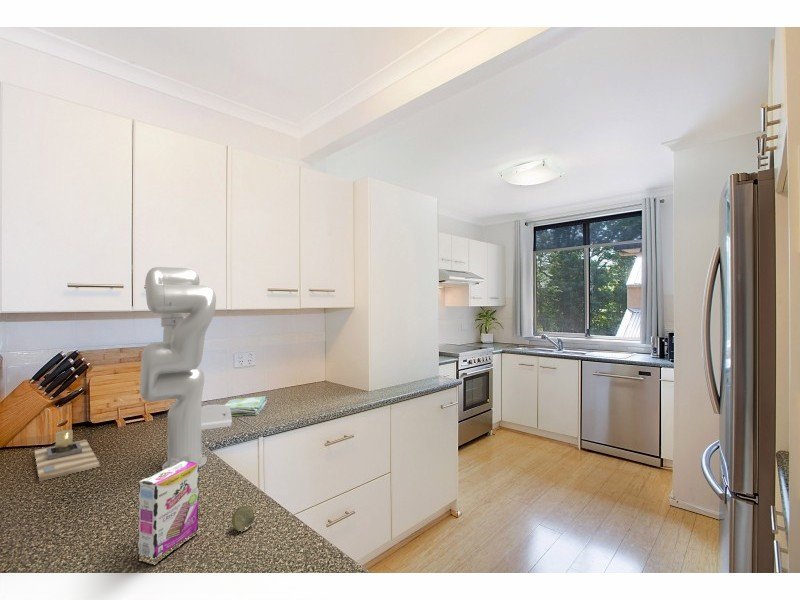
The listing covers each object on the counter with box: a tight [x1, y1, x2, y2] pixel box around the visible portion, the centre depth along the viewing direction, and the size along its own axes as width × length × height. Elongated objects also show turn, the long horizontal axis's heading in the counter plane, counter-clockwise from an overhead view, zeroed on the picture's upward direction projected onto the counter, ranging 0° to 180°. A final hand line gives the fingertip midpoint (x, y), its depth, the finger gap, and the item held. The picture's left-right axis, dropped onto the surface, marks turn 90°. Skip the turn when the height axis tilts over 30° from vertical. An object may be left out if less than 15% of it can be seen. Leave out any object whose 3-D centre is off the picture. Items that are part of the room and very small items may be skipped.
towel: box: [224, 395, 268, 417], centre depth 186 cm, size 18×21×5 cm
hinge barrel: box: [55, 429, 74, 453], centre depth 131 cm, size 4×4×7 cm
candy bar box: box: [137, 461, 200, 558], centre depth 82 cm, size 11×5×16 cm, turn 163°
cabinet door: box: [33, 439, 100, 482], centre depth 128 cm, size 30×14×3 cm, turn 46°
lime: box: [231, 505, 255, 532], centre depth 89 cm, size 4×5×5 cm
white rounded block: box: [201, 404, 233, 431], centre depth 163 cm, size 17×5×10 cm, turn 113°
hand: (172, 366), depth 149 cm, fingers open, 9 cm apart
